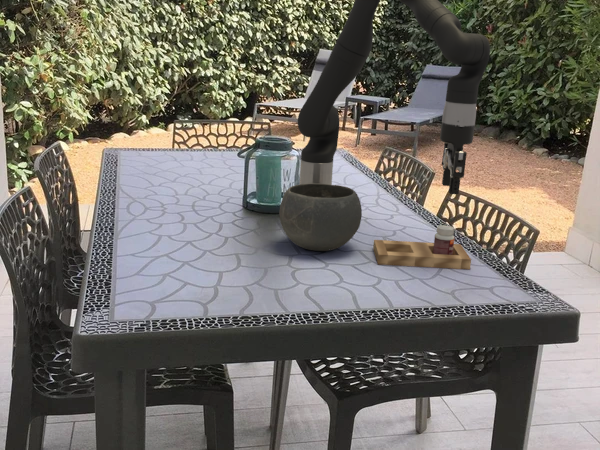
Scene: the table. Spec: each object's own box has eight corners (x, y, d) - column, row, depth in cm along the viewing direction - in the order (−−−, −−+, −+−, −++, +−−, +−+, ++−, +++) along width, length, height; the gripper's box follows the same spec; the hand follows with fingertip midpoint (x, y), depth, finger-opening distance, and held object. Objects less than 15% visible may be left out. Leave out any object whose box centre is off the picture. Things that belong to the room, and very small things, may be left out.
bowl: (369, 244, 180) (374, 188, 176) (340, 266, 162) (345, 204, 158) (299, 231, 188) (302, 177, 184) (264, 250, 170) (266, 191, 166)
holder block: (377, 264, 165) (378, 254, 164) (373, 249, 176) (373, 239, 176) (470, 269, 165) (471, 259, 164) (459, 253, 177) (460, 244, 176)
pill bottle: (451, 264, 168) (455, 231, 166) (432, 262, 169) (435, 229, 167) (451, 258, 173) (455, 225, 170) (432, 256, 174) (435, 223, 171)
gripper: (436, 117, 168) (429, 182, 173) (448, 125, 154) (439, 195, 159) (467, 118, 168) (459, 184, 173) (481, 127, 154) (472, 197, 159)
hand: (449, 189), depth 166 cm, fingers open, 8 cm apart
